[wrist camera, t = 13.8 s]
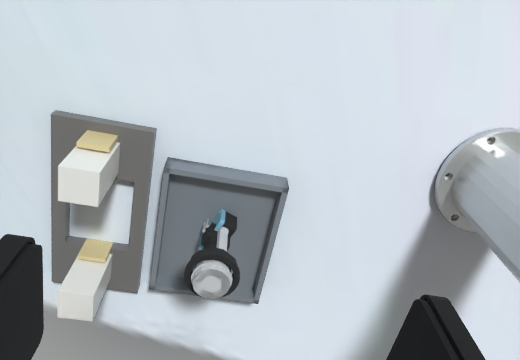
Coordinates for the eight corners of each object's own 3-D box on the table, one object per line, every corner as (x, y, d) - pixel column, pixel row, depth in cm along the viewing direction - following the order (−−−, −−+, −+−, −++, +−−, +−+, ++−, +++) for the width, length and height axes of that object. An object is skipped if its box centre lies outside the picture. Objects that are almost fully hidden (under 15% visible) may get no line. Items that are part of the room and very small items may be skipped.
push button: (218, 260, 52) (212, 322, 43) (179, 239, 50) (165, 300, 41) (249, 220, 49) (251, 277, 40) (209, 197, 48) (201, 251, 39)
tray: (286, 177, 48) (288, 188, 45) (257, 289, 55) (258, 303, 52) (168, 157, 46) (164, 167, 44) (153, 275, 53) (149, 289, 51)
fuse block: (156, 128, 45) (139, 161, 37) (139, 286, 54) (122, 337, 46) (55, 110, 43) (17, 140, 36) (55, 274, 52) (25, 325, 45)
